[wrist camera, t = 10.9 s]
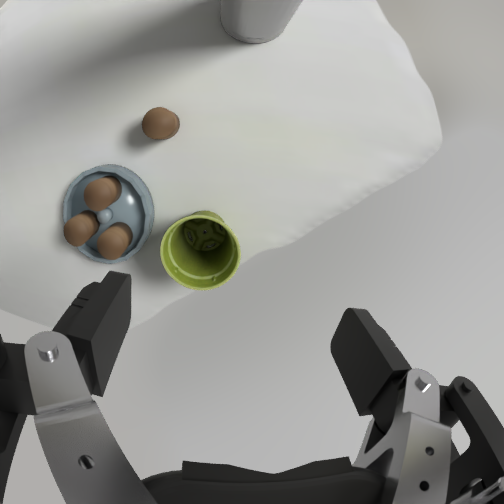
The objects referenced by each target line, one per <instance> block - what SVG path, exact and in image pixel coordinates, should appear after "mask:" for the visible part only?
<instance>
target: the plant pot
mask: <svg viewBox="0 0 504 504" xmlns="http://www.w3.org/2000/svg"><path fill="white" fill-rule="evenodd" d="M195 218H197V219H195ZM218 223H219V224H220V225H222V228H223V229H222V230H220V226H219V224H218ZM205 230H206V231H207V233H205V234H204V233H203V231H205ZM188 232H190V235H191V238H192V239H193V240H192V241H191V240H190V239H189V237H188ZM214 243H215V245H214V246H212V247H210V248H208V247H207V246H208V245H212V244H214ZM160 257H161V261H162V264H163V266H164V268H165V270H166V271H167V273H168V274H169V275H170V277H171V278H172V279H174V280H175V281H176V282H177V283H179V284H181V285H183V286H184V287H187V288H190V289H194V290H211V289H214V288H217V287H220V286H221V285H223V284H225V283H226V282H227V281H228V280H230V279H231V278H232V277H233V275H234V274H235V272H236V270H237V268H238V266H239V263H240V258H241V251H240V245H239V242H238V239H237V237H236V236H235V234H234V232H233V231H232V230H231V229H230V228H229V227H228V226H227V225H226V224H225V223H224V221H223V220H222V218H221V217H220V216H218V215H217V214H215V213H213V212H210V211H199V212H196V213H194V214H192V215H191V216H187V217H184V218H182V219H180V220H178V221H176V222H175V223H174V224H172V225H171V226H170V227H169V228H168V230H167V231H166V233H165V234H164V236H163V238H162V241H161V245H160Z"/></svg>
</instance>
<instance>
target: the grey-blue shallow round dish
mask: <svg viewBox="0 0 504 504" xmlns="http://www.w3.org/2000/svg"><path fill="white" fill-rule="evenodd" d="M108 175H111V176H114V177H116V178H117V179H118V180H119V181H120V183H121V185H122V193H121V196H120V198H119V199H118V200H117V201H116V202H114V203H113V204H111V205H110V206H108V207H107V208H105V209H104V210H102V211H93V210H91V209H90V208H89V207H88V206H87V205H86V203H85V201H84V190H85V188H86V186H87V185H88V184H89V183H90V182H92V181H94V180H97V179H100V178H102V177H105V176H108ZM84 210H90V211H93V212H94V213H95V214H96V215H97V219H98V221H99V222H100V227H99V230H98V232H97V233H96V234H95V235H93V236H92V237H91V238H90V239H89V240H88V241H86V242H85V243H84V244H83V245H82V246H79V247H77V248H78V249H79V251H80V252H82V253H83V254H85V255H86V256H88V257H89V258H91V259H93V260H94V261H99V262H104V263H109V264H112V263H116V262H121V261H126V260H127V259H129V258H130V257H131V256H133V255H134V254H135V253H136V252H138V251H139V250H140V249H141V247H142V246H143V244H144V243H145V241H146V240H147V238H148V237H149V235H150V233H151V230H152V227H153V222H154V205H153V200H152V197H151V194H150V192H149V190H148V188H147V186H146V185H145V183H144V182H143V181H142V179H141V178H140V177H139V176H138V175H137V174H135V173H134V172H132V171H131V170H129V169H127V168H125V167H122V166H119V165H111V164H108V165H102V166H98V167H95V168H92V169H90V170H87V171H85V172H82V173H81V174H80V175H79V176H78V177H77V178H76V179H75V180H74V181H73V182H72V184H71V185H70V187H69V189H68V192H67V194H66V197H65V199H64V211H63V220H64V223H66V222H67V221H68V220H70V219H71V218H73V217H74V216H76V215H78V214H79V213H81V212H82V211H84ZM116 222H124V223H126V224H127V225H128V226H129V227H130V228H131V230H132V232H133V240H132V242H131V244H130V245H129V246H128V247H127V249H126V250H125V251H124V252H123V254H122V255H121V256H120V257H119V258H118V259H116V260H108V259H106V258H104V257H103V256H102V255H101V254H100V253H99V251H98V248H97V240H98V238H99V236H100V235H101V234H102V233H103V232H104V231H105V230H107V229H108V228H109V227H110V226H111V225H112V224H114V223H116Z"/></svg>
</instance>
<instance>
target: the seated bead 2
mask: <svg viewBox="0 0 504 504" xmlns="http://www.w3.org/2000/svg"><path fill="white" fill-rule="evenodd" d="M132 240H133V232H132V230H131V228H130V227H129V226H128V225H127V224H126V223H124V222H116V223H114V224H112V225H111V226H110V227H109V228H108V229H107V230H105V231H104V232H103V233H102V234H101V235H100V236H99V238H98V240H97V248H98V251H99V253H100V254H101V255H102V256H103V257H104V258H106V259H108V260H116V259H118V258H119V257H120V256H121V255H122V254H123V252H124V251H125V250H126V249H127V247H128V246H129V245H130V244H131V242H132Z"/></svg>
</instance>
